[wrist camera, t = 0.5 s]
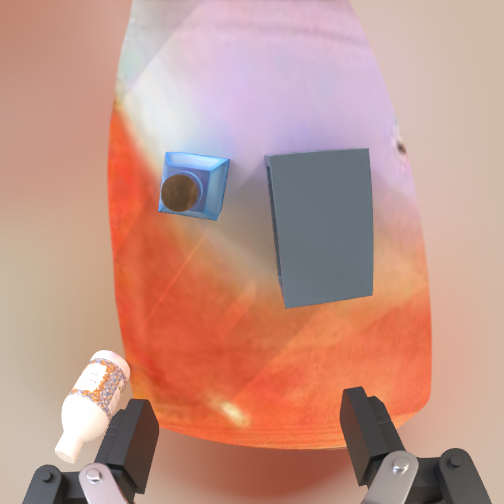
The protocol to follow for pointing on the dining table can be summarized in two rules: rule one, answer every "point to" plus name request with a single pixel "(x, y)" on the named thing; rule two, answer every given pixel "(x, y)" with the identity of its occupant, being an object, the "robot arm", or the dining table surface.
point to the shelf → (322, 224)
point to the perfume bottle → (193, 185)
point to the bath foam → (92, 402)
